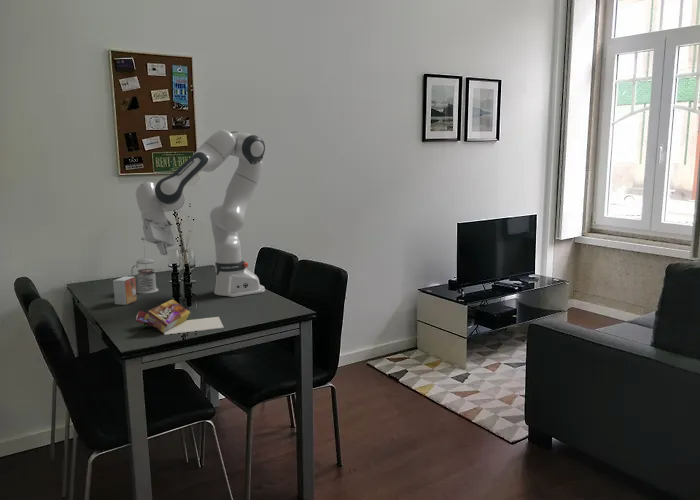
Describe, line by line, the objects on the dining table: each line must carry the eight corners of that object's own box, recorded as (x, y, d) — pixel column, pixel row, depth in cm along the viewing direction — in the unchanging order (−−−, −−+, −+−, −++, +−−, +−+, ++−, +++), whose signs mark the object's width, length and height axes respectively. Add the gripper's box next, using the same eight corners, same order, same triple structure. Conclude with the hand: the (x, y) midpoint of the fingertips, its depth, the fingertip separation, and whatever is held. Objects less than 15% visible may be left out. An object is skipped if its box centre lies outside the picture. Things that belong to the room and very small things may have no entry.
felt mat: (218, 317, 219) (218, 316, 219) (223, 328, 206) (223, 327, 206) (162, 323, 212) (162, 322, 212) (164, 335, 199) (164, 334, 199)
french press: (154, 293, 257) (150, 238, 253) (128, 293, 258) (124, 239, 253) (161, 288, 267) (157, 235, 263) (137, 288, 267) (132, 235, 263)
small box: (126, 305, 239) (124, 280, 237) (114, 304, 240) (112, 280, 238) (137, 300, 246) (135, 276, 245) (125, 299, 248) (123, 276, 246)
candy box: (167, 307, 217) (143, 318, 202) (172, 298, 215) (148, 309, 201) (186, 321, 215) (162, 333, 201) (191, 312, 214) (167, 323, 200)
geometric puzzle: (164, 318, 212) (150, 302, 211) (158, 323, 205) (143, 307, 204) (149, 329, 213) (135, 313, 212) (143, 335, 206) (128, 319, 205)
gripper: (150, 214, 217) (160, 248, 215) (172, 223, 237) (181, 254, 235) (135, 220, 217) (145, 254, 215) (158, 228, 237) (167, 259, 235)
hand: (164, 254), depth 225 cm, fingers closed
